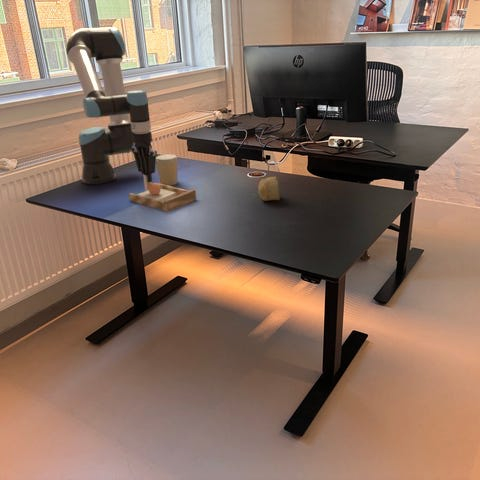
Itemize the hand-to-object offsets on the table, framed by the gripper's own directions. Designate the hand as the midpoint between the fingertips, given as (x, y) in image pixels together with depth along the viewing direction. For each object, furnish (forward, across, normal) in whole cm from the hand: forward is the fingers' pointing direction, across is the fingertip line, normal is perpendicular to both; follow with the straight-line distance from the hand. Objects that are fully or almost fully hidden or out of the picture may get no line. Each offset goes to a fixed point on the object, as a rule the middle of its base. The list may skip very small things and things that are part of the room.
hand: (148, 189), depth 194 cm
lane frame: (+3, +8, 0) cm, 8 cm away
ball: (-1, +3, 0) cm, 3 cm away
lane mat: (+3, +8, 0) cm, 8 cm away
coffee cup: (+3, -6, +17) cm, 19 cm away
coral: (+4, +44, +25) cm, 50 cm away
